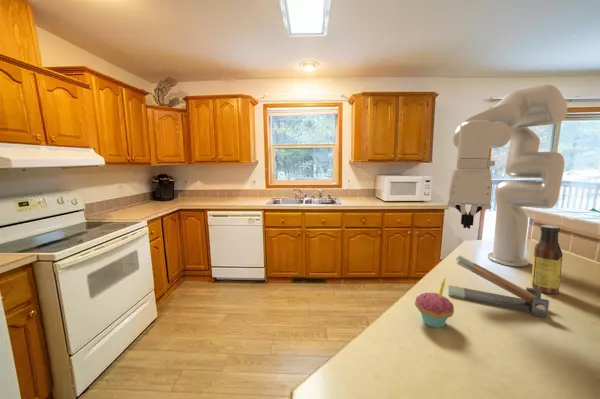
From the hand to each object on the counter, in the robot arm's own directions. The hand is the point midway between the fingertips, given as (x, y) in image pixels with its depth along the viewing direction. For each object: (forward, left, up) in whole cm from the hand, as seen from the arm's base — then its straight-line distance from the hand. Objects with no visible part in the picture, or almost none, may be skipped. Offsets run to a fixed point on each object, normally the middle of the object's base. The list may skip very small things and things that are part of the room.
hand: (466, 227), depth 75 cm
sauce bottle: (-12, +22, -20) cm, 32 cm away
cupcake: (+21, -7, -20) cm, 30 cm away
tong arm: (+3, +7, -14) cm, 16 cm away
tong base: (+3, +8, -20) cm, 22 cm away
